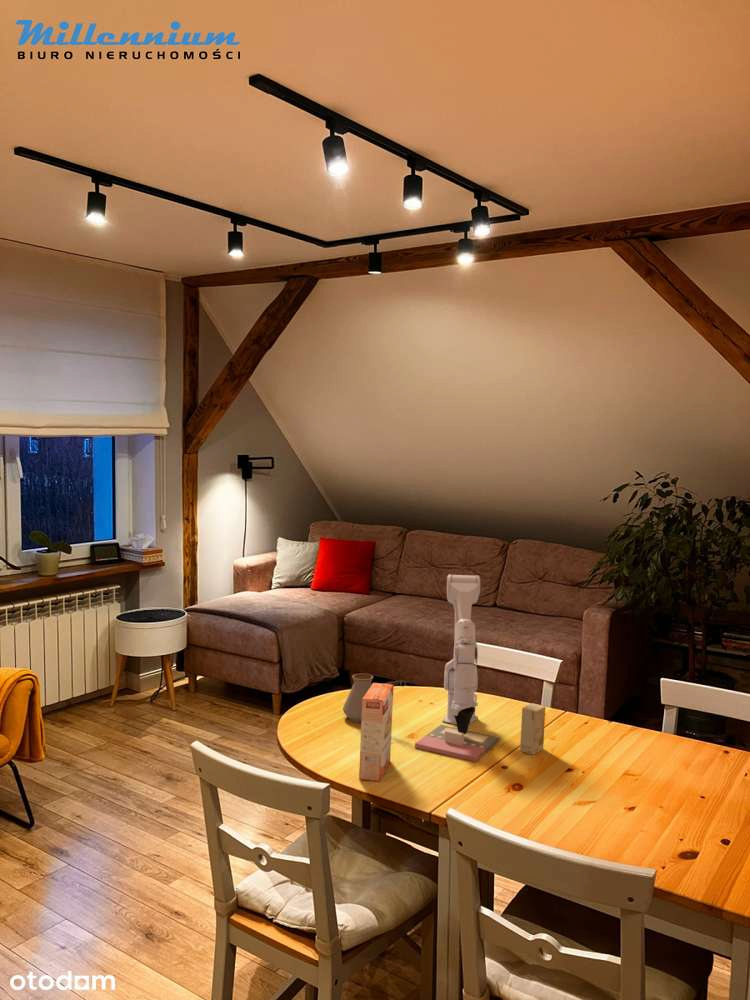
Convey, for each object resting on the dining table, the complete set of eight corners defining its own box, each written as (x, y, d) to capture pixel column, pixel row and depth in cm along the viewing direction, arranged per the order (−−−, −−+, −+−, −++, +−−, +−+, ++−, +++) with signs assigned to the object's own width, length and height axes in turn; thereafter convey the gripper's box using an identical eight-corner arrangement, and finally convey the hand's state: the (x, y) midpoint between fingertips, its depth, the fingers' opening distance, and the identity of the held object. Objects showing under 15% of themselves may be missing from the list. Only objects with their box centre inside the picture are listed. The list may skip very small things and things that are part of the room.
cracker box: (381, 783, 203) (384, 700, 201) (358, 780, 204) (360, 698, 202) (392, 760, 216) (394, 683, 214) (369, 758, 217) (372, 681, 216)
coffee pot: (334, 718, 247) (335, 669, 245) (359, 708, 255) (360, 661, 254) (390, 736, 233) (392, 685, 232) (414, 725, 242) (416, 676, 241)
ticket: (440, 728, 240) (440, 723, 240) (498, 741, 232) (499, 736, 232) (426, 739, 232) (426, 734, 232) (486, 753, 223) (486, 748, 223)
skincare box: (533, 755, 222) (535, 711, 221) (519, 751, 225) (521, 708, 224) (544, 748, 227) (546, 705, 226) (530, 744, 230) (531, 702, 229)
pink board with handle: (425, 739, 231) (426, 724, 231) (485, 753, 223) (486, 738, 222) (414, 747, 225) (415, 732, 225) (475, 761, 217) (476, 746, 216)
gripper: (467, 695, 222) (465, 744, 223) (487, 681, 235) (485, 727, 236) (443, 690, 225) (442, 738, 227) (464, 677, 238) (462, 723, 239)
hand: (462, 732), depth 231 cm, fingers closed
